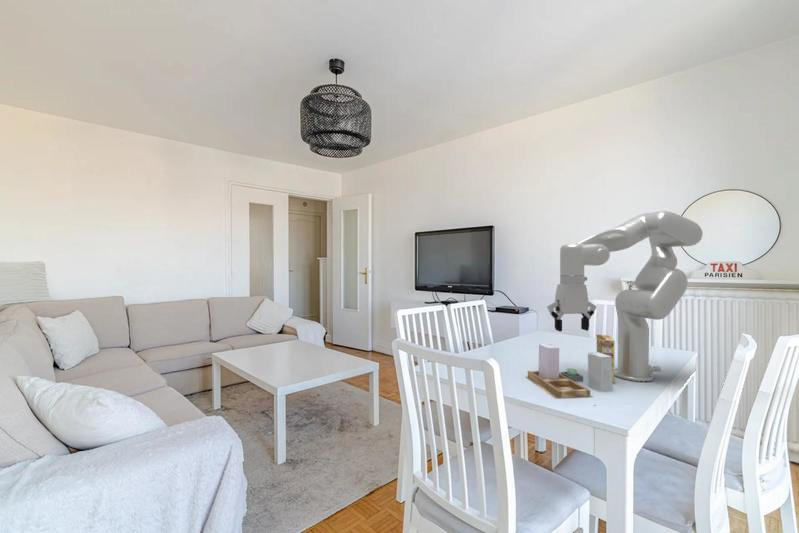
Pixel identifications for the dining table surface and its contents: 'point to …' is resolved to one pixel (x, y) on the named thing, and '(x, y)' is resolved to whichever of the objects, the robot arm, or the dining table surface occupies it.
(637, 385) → the dining table surface
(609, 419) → the dining table surface
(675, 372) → the dining table surface
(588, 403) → the dining table surface
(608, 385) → the skincare box
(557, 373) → the seated billet
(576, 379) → the grey square holder
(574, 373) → the button
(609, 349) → the candy box
